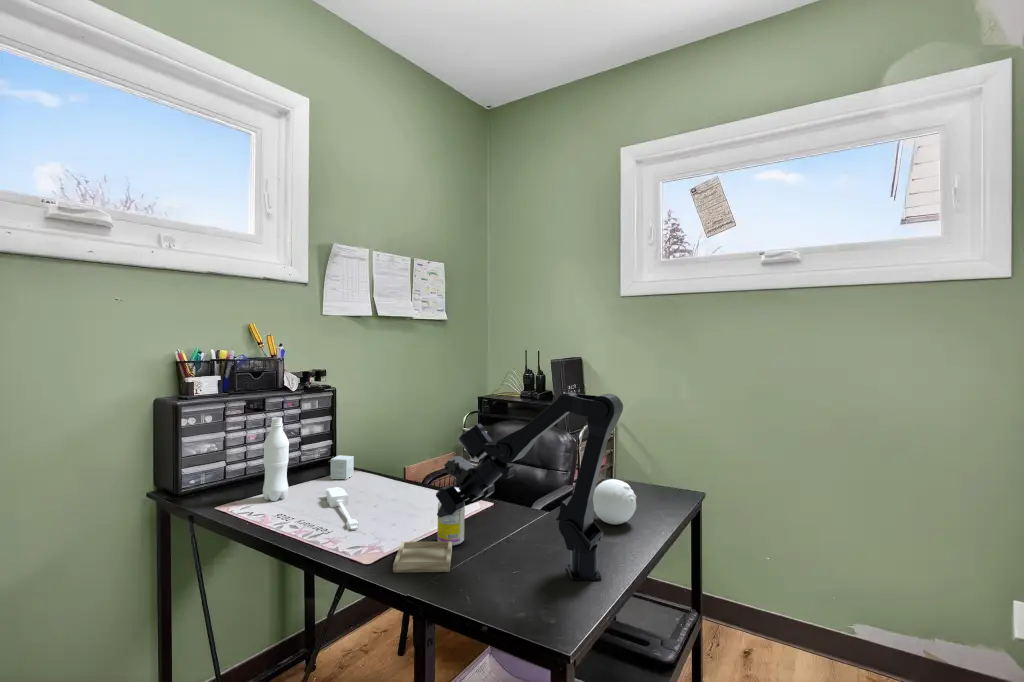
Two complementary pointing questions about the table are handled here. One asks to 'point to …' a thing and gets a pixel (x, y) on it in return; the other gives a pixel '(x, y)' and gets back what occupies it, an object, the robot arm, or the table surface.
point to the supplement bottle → (451, 526)
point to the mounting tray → (423, 557)
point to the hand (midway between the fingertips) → (446, 511)
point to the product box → (342, 467)
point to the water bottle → (276, 462)
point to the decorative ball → (614, 501)
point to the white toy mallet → (341, 504)
